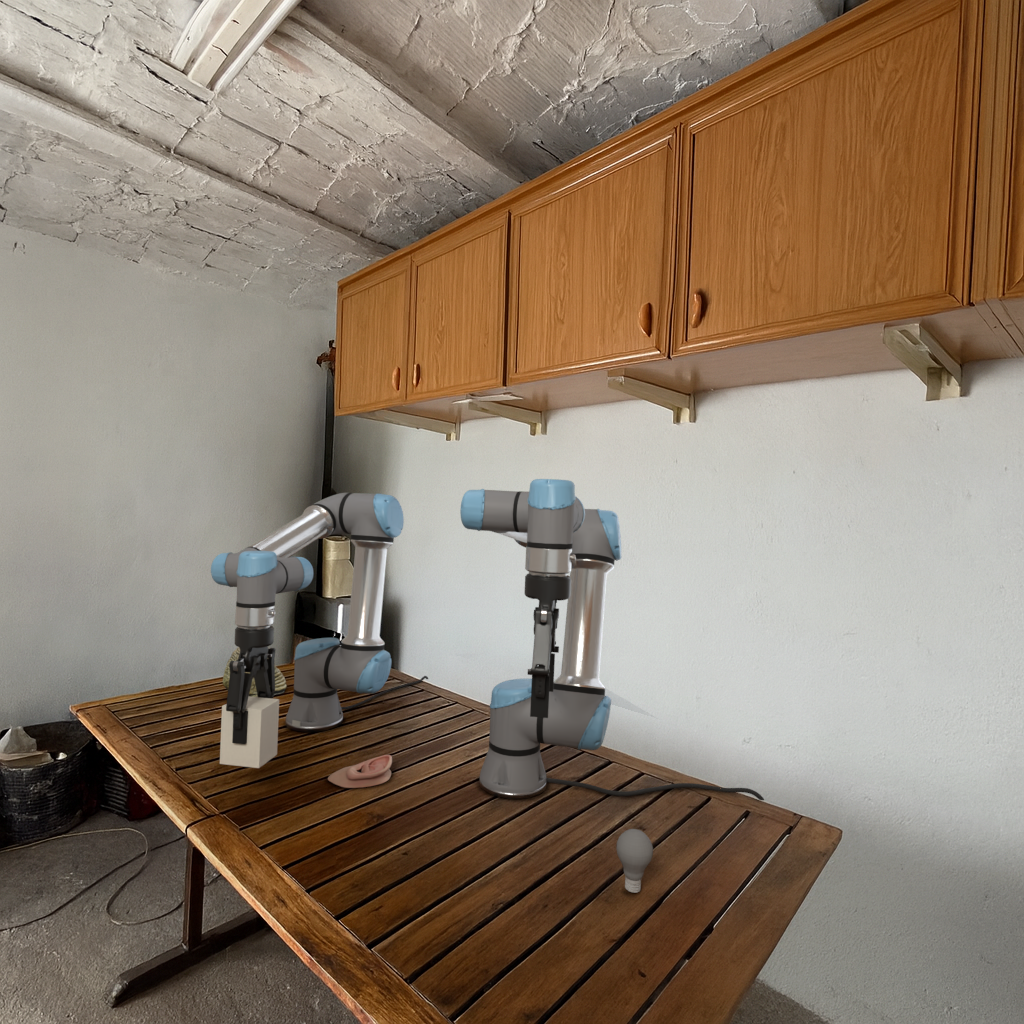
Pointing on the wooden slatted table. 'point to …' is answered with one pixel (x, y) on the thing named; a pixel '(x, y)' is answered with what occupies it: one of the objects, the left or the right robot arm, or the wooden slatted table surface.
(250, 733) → the block
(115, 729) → the wooden slatted table surface
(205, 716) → the wooden slatted table surface
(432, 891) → the wooden slatted table surface
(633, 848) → the light bulb
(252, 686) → the fossil
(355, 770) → the anatomical model
